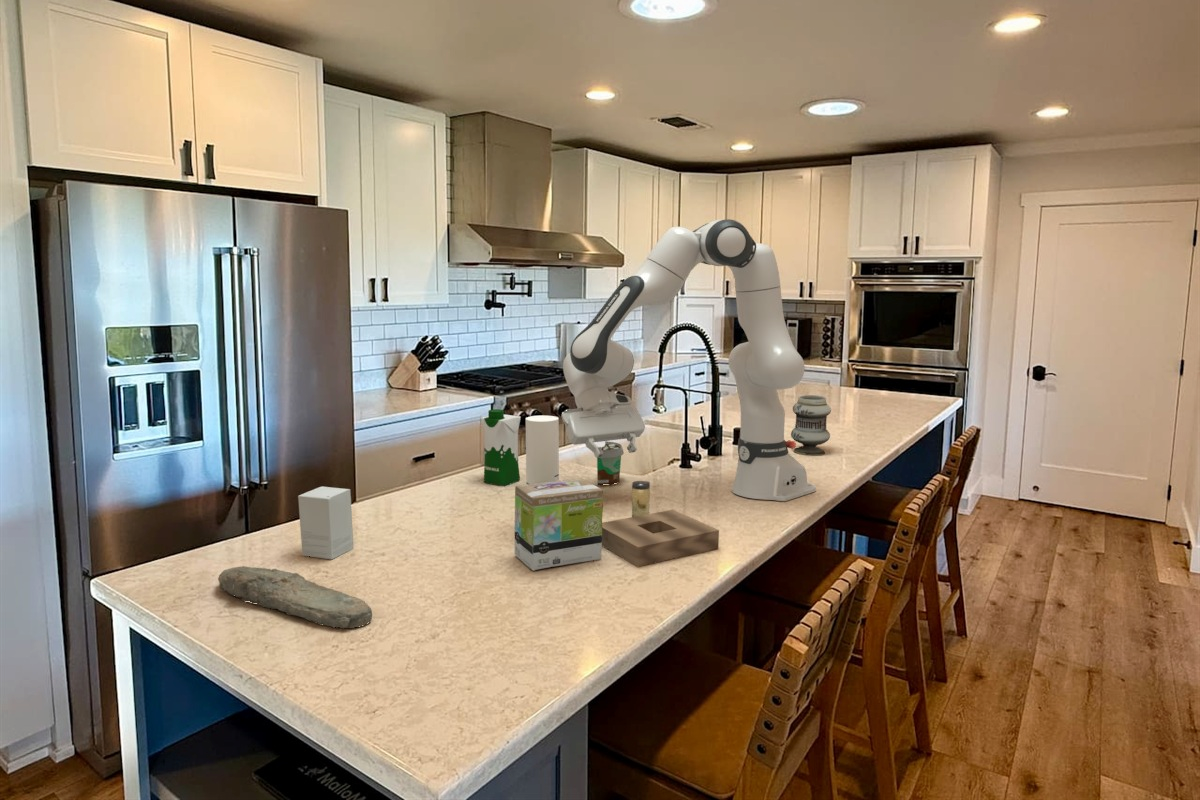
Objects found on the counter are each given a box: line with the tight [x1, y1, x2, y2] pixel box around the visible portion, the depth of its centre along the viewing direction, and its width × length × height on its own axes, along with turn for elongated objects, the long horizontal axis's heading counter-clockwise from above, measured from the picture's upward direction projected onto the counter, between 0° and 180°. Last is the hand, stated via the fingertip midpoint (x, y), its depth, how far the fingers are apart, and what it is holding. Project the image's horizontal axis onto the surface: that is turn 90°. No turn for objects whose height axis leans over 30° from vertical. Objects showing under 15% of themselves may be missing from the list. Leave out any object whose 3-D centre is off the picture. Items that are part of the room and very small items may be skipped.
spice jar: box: [631, 480, 651, 517], centre depth 173 cm, size 4×4×9 cm
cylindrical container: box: [525, 415, 560, 485], centre depth 166 cm, size 7×7×25 cm
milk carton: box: [480, 408, 521, 487], centre depth 205 cm, size 9×9×20 cm
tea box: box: [514, 478, 604, 572], centre depth 150 cm, size 15×10×15 cm, turn 117°
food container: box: [596, 441, 625, 486], centre depth 207 cm, size 12×6×10 cm, turn 168°
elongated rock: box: [217, 565, 373, 629], centre depth 129 cm, size 35×5×10 cm
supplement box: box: [297, 486, 355, 560], centre depth 153 cm, size 7×7×13 cm
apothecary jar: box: [790, 394, 832, 457], centre depth 242 cm, size 12×12×18 cm
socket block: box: [602, 509, 720, 567], centre depth 158 cm, size 20×16×4 cm
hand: (616, 453), depth 181 cm, fingers open, 8 cm apart
